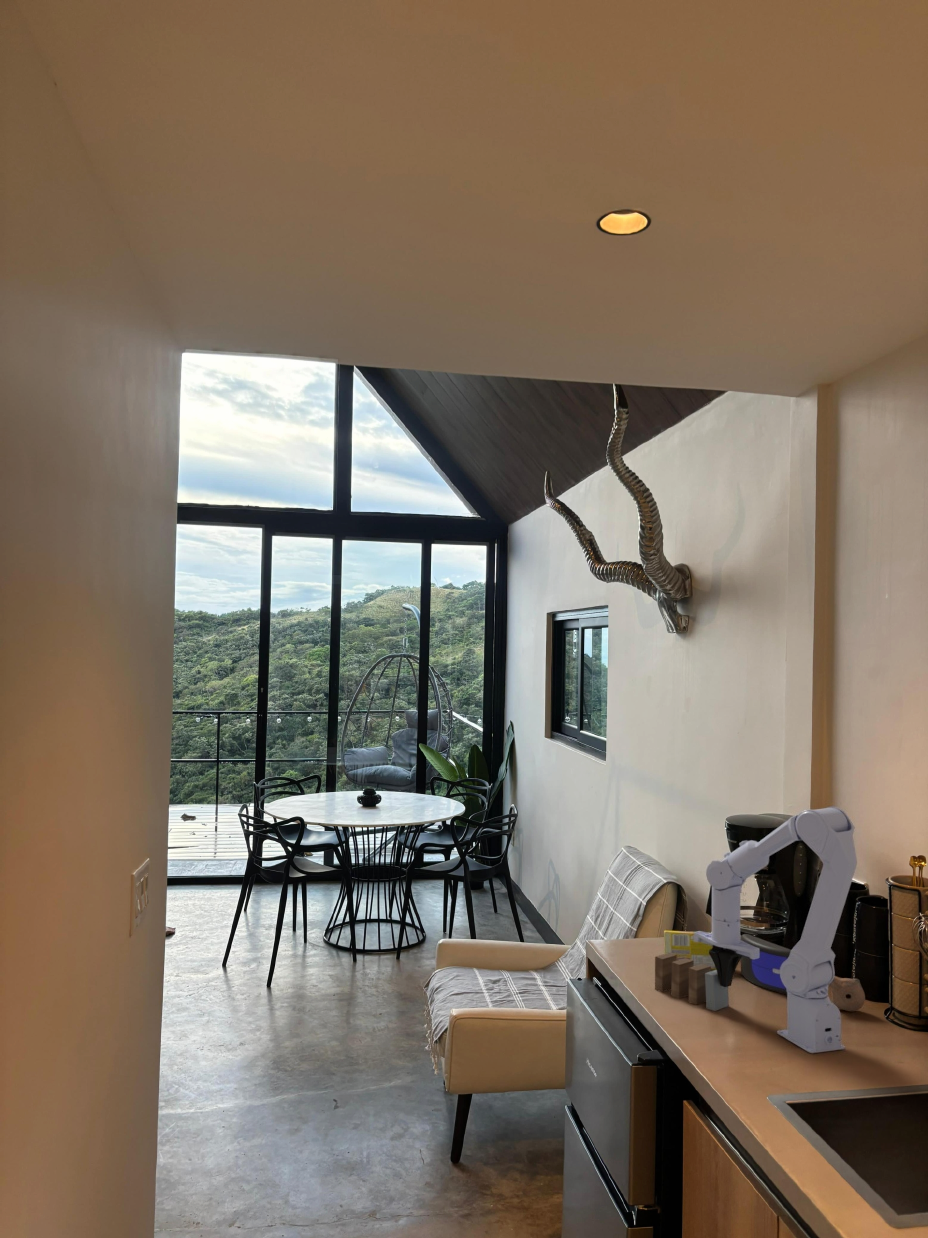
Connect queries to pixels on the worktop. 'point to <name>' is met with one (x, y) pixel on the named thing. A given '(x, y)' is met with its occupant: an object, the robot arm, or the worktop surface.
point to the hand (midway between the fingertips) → (725, 985)
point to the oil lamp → (847, 993)
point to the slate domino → (715, 992)
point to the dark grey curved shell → (764, 964)
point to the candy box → (687, 947)
